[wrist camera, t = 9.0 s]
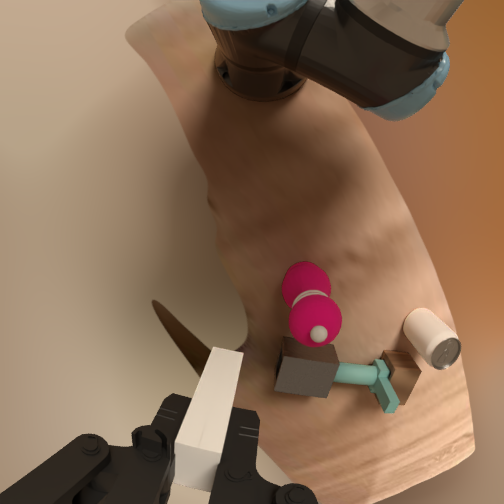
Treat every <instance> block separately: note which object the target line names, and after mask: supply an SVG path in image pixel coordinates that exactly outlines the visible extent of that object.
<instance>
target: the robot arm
mask: <svg viewBox="0 0 504 504" xmlns="http://www.w3.org/2000/svg"><path fill="white" fill-rule="evenodd" d="M463 1H464V0H200V4H201V7H202V13H203V17H204V19H205V20H206V21H207V23H208V25H209V27H210V29H211V31H212V33H213V36H214V38H215V40H216V42H217V44H218V45H217V48H216V52H215V65H216V69H217V72H218V74H219V76H220V78H221V80H222V81H223V83H224V84H225V85H226V86H227V87H228V88H229V89H230V90H231V91H232V92H234V93H235V94H237V95H239V96H241V97H243V98H246V99H249V100H254V101H274V100H278V99H281V98H284V97H287V96H289V95H291V94H292V93H294V92H295V91H296V90H298V89H299V88H300V87H301V86H302V85H303V83H304V82H305V81H306V79H307V78H308V79H310V80H312V81H314V82H316V83H318V84H320V85H322V86H324V87H326V88H328V89H330V90H332V91H334V92H335V93H337V94H339V95H341V96H343V97H345V98H346V99H348V100H350V101H352V102H353V103H355V104H357V106H359V107H360V108H361V109H364V110H367V111H370V112H372V113H374V114H376V115H378V116H379V117H381V118H383V119H385V120H389V121H400V120H403V119H406V118H408V117H410V116H412V115H413V114H415V113H416V112H418V111H419V110H420V109H422V108H423V107H424V106H425V105H426V104H427V103H428V102H429V101H430V100H431V99H432V98H433V97H434V95H435V94H436V89H437V88H438V87H440V86H441V85H442V84H443V82H444V80H445V79H446V77H447V74H448V71H449V67H450V62H449V57H448V56H447V54H446V52H445V51H446V50H447V48H448V47H449V44H450V42H449V38H448V34H447V31H446V23H447V22H448V21H449V19H450V18H451V17H452V15H453V14H454V13H455V12H456V10H457V9H458V8H459V6H460V5H461V4H462V2H463ZM242 358H243V353H241V352H236V351H231V350H227V349H222V348H218V347H213V349H212V351H211V353H210V356H209V358H208V361H207V363H206V366H205V368H204V371H203V373H202V376H201V378H200V381H199V383H198V386H197V388H196V391H195V393H194V396H193V398H188V397H185V396H181V395H178V394H174V393H173V394H171V395H169V396H168V397H166V398H165V399H164V401H163V402H162V405H161V406H160V409H159V410H158V412H157V415H156V416H155V418H154V420H153V421H152V423H151V425H146V426H141V427H138V428H136V429H135V430H134V431H133V432H132V443H133V446H129V447H120V446H112V445H108V443H107V442H106V441H105V440H104V439H103V438H102V437H100V436H98V435H95V434H82V435H80V436H78V437H76V438H75V439H74V440H72V441H71V442H70V443H69V444H67V445H66V446H65V447H63V448H62V449H61V450H59V451H58V452H57V453H56V454H54V455H53V456H51V457H50V458H49V459H47V460H46V461H45V462H43V463H42V464H41V465H39V466H38V467H37V468H35V469H34V470H32V471H31V472H30V473H28V474H27V475H26V476H24V477H23V478H21V479H20V480H19V481H17V482H16V483H15V484H13V485H12V486H10V487H9V488H8V489H6V490H5V491H3V492H2V493H1V494H0V504H167V502H168V499H169V496H170V487H171V484H172V482H173V479H174V483H175V484H179V485H182V486H186V487H190V488H194V489H199V490H203V491H207V492H211V495H210V499H209V504H318V502H317V499H316V497H315V495H314V493H313V492H312V490H311V489H309V488H308V487H306V486H304V485H301V484H294V483H291V484H287V485H284V486H282V487H281V486H278V485H276V484H273V483H270V482H268V481H266V480H265V479H263V478H262V477H261V476H260V475H259V473H258V472H257V470H256V456H257V446H258V436H259V425H260V419H259V417H258V415H257V413H256V411H252V410H246V409H241V408H236V407H232V406H233V401H234V396H235V392H236V387H237V382H238V377H239V372H240V368H241V363H242Z"/></svg>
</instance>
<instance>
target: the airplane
mask: <svg viewBox="0 0 504 504" xmlns="http://www.w3.org/2000/svg"><path fill="white" fill-rule="evenodd" d="M339 363H340V365H339V368H338V371H337V373H336V376H335V379H334V381H333V382H339V383H349V384H359V385H368V387H369V389H370V392H371V393H376V395H377V397H378V399H379V402H380V404H381V407H382V409H383V411H384V413H394V412H395V410H396V408H397V407H398V405H399V403H400V401H399V399H398V397H397V395H396V393H395V391H394V389H393V387H392V385H391V383H390V381H389V380H388V379H389V377H390V375H391V371H390V369H389V368H388V367H387V366H386V364H385V362H384V360H379V359H375V360H374V362H373V365H372V366H369V365H360V364H352V363H344V362H339Z"/></svg>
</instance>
